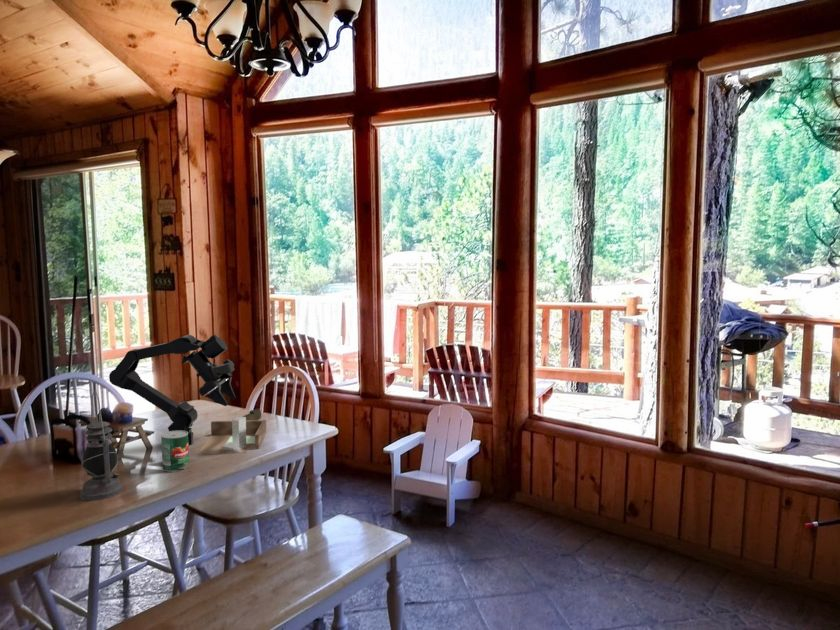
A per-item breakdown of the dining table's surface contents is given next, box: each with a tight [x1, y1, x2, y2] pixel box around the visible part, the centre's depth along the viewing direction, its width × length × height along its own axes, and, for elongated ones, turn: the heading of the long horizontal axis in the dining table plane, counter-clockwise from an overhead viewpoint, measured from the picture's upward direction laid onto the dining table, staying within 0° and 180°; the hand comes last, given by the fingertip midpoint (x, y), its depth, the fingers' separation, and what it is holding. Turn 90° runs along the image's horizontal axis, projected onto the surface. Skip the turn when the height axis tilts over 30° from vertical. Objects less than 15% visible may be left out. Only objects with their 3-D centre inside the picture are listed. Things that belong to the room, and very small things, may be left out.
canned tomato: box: [160, 430, 190, 473], centre depth 181 cm, size 8×8×11 cm
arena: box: [196, 419, 267, 455], centre depth 202 cm, size 20×21×6 cm
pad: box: [226, 436, 255, 444], centre depth 205 cm, size 10×8×1 cm
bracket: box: [222, 416, 246, 452], centre depth 195 cm, size 7×4×11 cm
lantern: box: [79, 389, 123, 501], centre depth 161 cm, size 12×11×30 cm
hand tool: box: [241, 408, 262, 420], centre depth 228 cm, size 19×4×5 cm, turn 155°
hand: (230, 402), depth 200 cm, fingers open, 9 cm apart
